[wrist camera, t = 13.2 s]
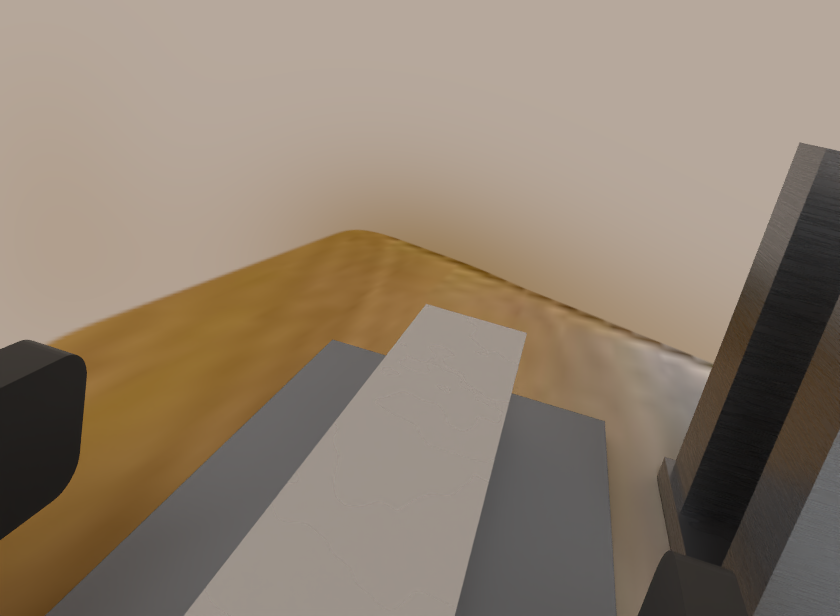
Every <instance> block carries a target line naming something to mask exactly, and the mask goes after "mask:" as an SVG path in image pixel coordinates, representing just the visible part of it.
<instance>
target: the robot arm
mask: <svg viewBox="0 0 840 616" xmlns="http://www.w3.org/2000/svg"><path fill="white" fill-rule="evenodd" d="M86 378H87V371H86V365H85V362H84V361H83V359H82V358H81V357H79V356H78V355H75V354H72V353H69V352H66V351H62V350H59V349H56V348H53V347H50V346H47V345H44V344H41V343H38V342H35V341H31V340H22V341H19V342H17V343H14V344H12V345H9V346H7V347H5V348H2V349H0V540H1V539H2V538H4V537H5V536H6V535H8V534H9V533H10V532H12V531H13V530H14V529H16V528H17V527H18V526H20V525H21V524H22V523H24V522H25V521H27V520H28V519H29V518H31V517H32V516H33V515H35V514H36V513H37V512H39V511H40V510H41V509H43V508H44V507H45V506H47V505H48V504H49V503H51V502H52V501H53V500H54V499H56V498H57V497H58V496H59V495H60V494H61V493H62V492H63V490H64V489H65V488H66V486H67V485H68V483H69V482H70V480H71V478H72V476H73V474H74V472H75V470H76V467H77V464H78V460H79V454H80V444H81V433H82V422H83V411H84V400H85V389H86ZM638 616H748V614H747V611H746V607H745V604H744V601H743V598H742V595H741V591H740V588H739V585H738V582H737V579H736V576H735V574H734V573H733V571H731V570H729V569H726V568H723V567H720V566H717V565H714V564H710V563H707V562H704V561H701V560H698V559H695V558H692V557H689V556H686V555H683V554H680V553H677V552H674V551H668V552H666V553H665V554H664V556H663V557H662V559H661V561H660V562H659V565H658V567H657V569H656V572H655V574H654V577H653V579H652V582H651V584H650V587H649V589H648V592H647V594H646V597H645V599H644V602H643V604H642V607H641V609H640V612H639V614H638Z"/></svg>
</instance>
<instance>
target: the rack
mask: <svg viewBox="0 0 840 616" xmlns="http://www.w3.org/2000/svg"><path fill="white" fill-rule="evenodd" d="M657 479H658V484H659V489H660V494H661V500H662V505H663V510H664V515H665V521H666V526H667V531H668V536H669V542H670V547H671V551H674V552H677V553H680V554H683V555H686V556H689V557H692V558H695V559H698V560H701V561H704V562H707V563H710V564H714V565H717V566H720V567H723V568H726V569H729V570H731V571H733V573H734V574H735V576H736V579H737V582H738V585H739V588H740V591H741V595H742V598H743V601H744V604H745V607H746V611H747V614H748V616H840V151H836V150H832V149H827V148H823V147H818V146H813V145H808V144H804V143H799V146H798V148H797V151H796V154H795V156H794V159H793V161H792V164H791V166H790V169H789V171H788V174H787V177H786V179H785V182H784V184H783V187H782V189H781V192H780V195H779V197H778V200H777V202H776V205H775V208H774V210H773V213H772V215H771V218H770V220H769V223H768V225H767V228H766V231H765V233H764V236H763V238H762V241H761V243H760V246H759V249H758V251H757V254H756V256H755V259H754V262H753V264H752V267H751V269H750V272H749V275H748V277H747V280H746V282H745V285H744V287H743V290H742V292H741V295H740V298H739V300H738V303H737V306H736V308H735V310H734V313H733V316H732V318H731V321H730V323H729V326H728V328H727V331H726V334H725V336H724V339H723V341H722V344H721V347H720V349H719V352H718V354H717V357H716V359H715V362H714V364H713V367H712V370H711V372H710V375H709V377H708V380H707V382H706V385H705V388H704V390H703V393H702V395H701V398H700V400H699V403H698V406H697V408H696V411H695V413H694V416H693V418H692V421H691V424H690V426H689V429H688V431H687V434H686V436H685V439H684V442H683V444H682V447H681V449H680V452H679V454H678V457H677V460H673V459H669V458H666V457H664V460H663V462H662V465H661V468H660V470H659V473H658V476H657Z"/></svg>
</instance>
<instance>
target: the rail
mask: <svg viewBox="0 0 840 616" xmlns="http://www.w3.org/2000/svg"><path fill="white" fill-rule="evenodd" d="M526 334H527V333H525V332H521V331H518V330H514V329H511V328H508V327H504V326H501V325H497V324H494V323H490V322H487V321H483V320H480V319H476V318H473V317H469V316H466V315H462V314H459V313H456V312H452V311H449V310H445V309H442V308H438V307H435V306H431V305H428V304H426V305H425V306H424V308H423V309H422V310H421V311H420V313H419V314H418V315H417V317H416V318H415V319H414V320H413V322H412V323H411V324H410V326H409V327H408V328H407V329H406V331H405V332H404V333H403V335H402V336H401V337H400V338H399V340H398V341H397V342H396V344H395V345H394V346H393V347H392V349H391V350H390V351H389V353H388V354H387V355H386V356H385V358H384V359H383V360H382V362H381V363H380V364H379V365H378V367H377V368H376V369H375V371H374V372H373V373H372V374H371V376H370V377H369V378H368V380H367V381H366V382H365V383H364V385H363V386H362V387H361V389H360V390H359V391H358V392H357V394H356V395H355V396H354V398H353V399H352V400H351V401H350V403H349V404H348V405H347V407H346V408H345V409H344V410H343V412H342V413H341V414H340V416H339V417H338V418H337V419H336V421H335V422H334V423H333V425H332V426H331V427H330V428H329V430H328V431H327V432H326V434H325V435H324V436H323V437H322V439H321V440H320V441H319V442H318V444H317V445H316V446H315V448H314V449H313V450H312V451H311V453H310V454H309V455H308V457H307V458H306V459H305V460H304V462H303V463H302V464H301V466H300V467H299V468H298V469H297V471H296V472H295V473H294V475H293V476H292V477H291V478H290V480H289V481H288V482H287V484H286V485H285V486H284V487H283V489H282V490H281V491H280V493H279V494H278V495H277V496H276V498H275V499H274V500H273V502H272V503H271V504H270V505H269V507H268V508H267V509H266V511H265V512H264V513H263V514H262V516H261V517H260V518H259V520H258V521H257V522H256V523H255V525H254V526H253V527H252V529H251V530H250V531H249V532H248V534H247V535H246V536H245V538H244V539H243V540H242V541H241V543H240V544H239V545H238V547H237V548H236V549H235V550H234V552H233V553H232V554H231V556H230V557H229V558H228V559H227V561H226V562H225V563H224V565H223V566H222V567H221V568H220V570H219V571H218V572H217V574H216V575H215V576H214V577H213V579H212V580H211V581H210V582H209V584H208V585H207V586H206V588H205V589H204V590H203V591H202V593H201V594H200V595H199V597H198V598H197V599H196V600H195V602H194V603H193V604H192V606H191V607H190V608H189V609H188V611H187V612H186V613H185V615H184V616H455V613H456V609H457V605H458V601H459V597H460V593H461V589H462V585H463V581H464V578H465V574H466V570H467V566H468V562H469V558H470V554H471V550H472V546H473V542H474V538H475V534H476V530H477V527H478V523H479V519H480V515H481V511H482V507H483V503H484V499H485V495H486V491H487V487H488V483H489V479H490V476H491V472H492V468H493V464H494V460H495V456H496V452H497V448H498V444H499V440H500V436H501V432H502V428H503V425H504V421H505V417H506V413H507V409H508V405H509V401H510V397H511V393H512V389H513V385H514V381H515V377H516V374H517V370H518V366H519V362H520V358H521V354H522V350H523V346H524V342H525V338H526Z"/></svg>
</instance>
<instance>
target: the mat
mask: <svg viewBox="0 0 840 616" xmlns="http://www.w3.org/2000/svg"><path fill="white" fill-rule="evenodd" d="M384 358H385V355H382V354H379V353H375V352H372V351H369V350H365V349H362V348H359V347H355V346H352V345H349V344H345V343H342V342H339V341H335V340H332V341H331V342H330V343H329V344H328V345H327V346H325V347H324V348H323V349H322V350H321V351H320V352H319V353H318V354H317V355H316V356H315V357H314V358H313V359H312V360H311V361H310V362H309V363H308V364H307V365H306V366H305V367H304V368H303V369H302V370H300V371H299V372H298V373H297V374H296V375H295V376H294V377H293V378H292V379H291V380H290V381H289V382H288V383H287V384H286V385H285V386H284V387H283V388H282V389H281V390H280V391H279V392H278V393H277V394H275V395H274V396H273V397H272V398H271V399H270V400H269V401H268V402H267V403H266V404H265V405H264V406H263V407H262V408H261V409H260V410H259V411H258V412H257V413H256V414H255V415H254V416H253V417H252V418H250V419H249V420H248V421H247V422H246V423H245V424H244V425H243V426H242V427H241V428H240V429H239V430H238V431H237V432H236V433H235V434H234V435H233V436H232V437H231V438H230V439H229V440H228V441H227V442H225V443H224V444H223V445H222V446H221V447H220V448H219V449H218V450H217V451H216V452H215V453H214V454H213V455H212V456H211V457H210V458H209V459H208V460H207V461H206V462H205V463H204V464H203V465H202V466H200V467H199V468H198V469H197V470H196V471H195V472H194V473H193V474H192V475H191V476H190V477H189V478H188V479H187V480H186V481H185V482H184V483H183V484H182V485H181V486H180V487H179V488H178V489H177V490H175V491H174V492H173V493H172V494H171V495H170V496H169V497H168V498H167V499H166V500H165V501H164V502H163V503H162V504H161V505H160V506H159V507H158V508H157V509H156V510H155V511H154V512H153V513H152V514H150V515H149V516H148V517H147V518H146V519H145V520H144V521H143V522H142V523H141V524H140V525H139V526H138V527H137V528H136V529H135V530H134V531H133V532H132V533H131V534H130V535H129V536H128V537H127V538H125V539H124V540H123V541H122V542H121V543H120V544H119V545H118V546H117V547H116V548H115V549H114V550H113V551H112V552H111V553H110V554H109V555H108V556H107V557H106V558H105V559H104V560H103V561H102V562H100V563H99V564H98V565H97V566H96V567H95V568H94V569H93V570H92V571H91V572H90V573H89V574H88V575H87V576H86V577H85V578H84V579H83V580H82V581H81V582H80V583H79V584H78V585H77V586H75V587H74V588H73V589H72V590H71V591H70V592H69V593H68V594H67V595H66V596H65V597H64V598H63V599H62V600H61V601H60V602H59V603H58V604H57V605H56V606H55V607H54V608H53V609H52V610H50V611H49V612H48V613H47V614H46V615H45V616H184V615H185V613H186V612H187V611H188V609H189V608H190V607H191V606H192V604H193V603H194V602H195V600H196V599H197V598H198V597H199V595H200V594H201V593H202V591H203V590H204V589H205V588H206V586H207V585H208V584H209V582H210V581H211V580H212V579H213V577H214V576H215V575H216V574H217V572H218V571H219V570H220V568H221V567H222V566H223V565H224V563H225V562H226V561H227V559H228V558H229V557H230V556H231V554H232V553H233V552H234V550H235V549H236V548H237V547H238V545H239V544H240V543H241V541H242V540H243V539H244V538H245V536H246V535H247V534H248V532H249V531H250V530H251V529H252V527H253V526H254V525H255V523H256V522H257V521H258V520H259V518H260V517H261V516H262V514H263V513H264V512H265V511H266V509H267V508H268V507H269V505H270V504H271V503H272V502H273V500H274V499H275V498H276V496H277V495H278V494H279V493H280V491H281V490H282V489H283V487H284V486H285V485H286V484H287V482H288V481H289V480H290V478H291V477H292V476H293V475H294V473H295V472H296V471H297V469H298V468H299V467H300V466H301V464H302V463H303V462H304V460H305V459H306V458H307V457H308V455H309V454H310V453H311V451H312V450H313V449H314V448H315V446H316V445H317V444H318V442H319V441H320V440H321V439H322V437H323V436H324V435H325V434H326V432H327V431H328V430H329V428H330V427H331V426H332V425H333V423H334V422H335V421H336V419H337V418H338V417H339V416H340V414H341V413H342V412H343V410H344V409H345V408H346V407H347V405H348V404H349V403H350V401H351V400H352V399H353V398H354V396H355V395H356V394H357V392H358V391H359V390H360V389H361V387H362V386H363V385H364V383H365V382H366V381H367V380H368V378H369V377H370V376H371V374H372V373H373V372H374V371H375V369H376V368H377V367H378V365H379V364H380V363H381V362H382V360H383V359H384ZM455 616H617V614H616V598H615V581H614V565H613V549H612V532H611V516H610V500H609V483H608V467H607V451H606V434H605V421H602V420H599V419H595V418H592V417H589V416H585V415H582V414H579V413H575V412H572V411H569V410H565V409H562V408H559V407H555V406H552V405H549V404H545V403H542V402H539V401H535V400H532V399H529V398H525V397H522V396H519V395H515V394H512V393H511V397H510V401H509V405H508V409H507V413H506V417H505V421H504V425H503V428H502V432H501V436H500V440H499V444H498V448H497V452H496V456H495V460H494V464H493V468H492V472H491V476H490V479H489V483H488V487H487V491H486V495H485V499H484V503H483V507H482V511H481V515H480V519H479V523H478V527H477V530H476V534H475V538H474V542H473V546H472V550H471V554H470V558H469V562H468V566H467V570H466V574H465V578H464V581H463V585H462V589H461V593H460V597H459V601H458V605H457V609H456V613H455Z"/></svg>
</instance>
